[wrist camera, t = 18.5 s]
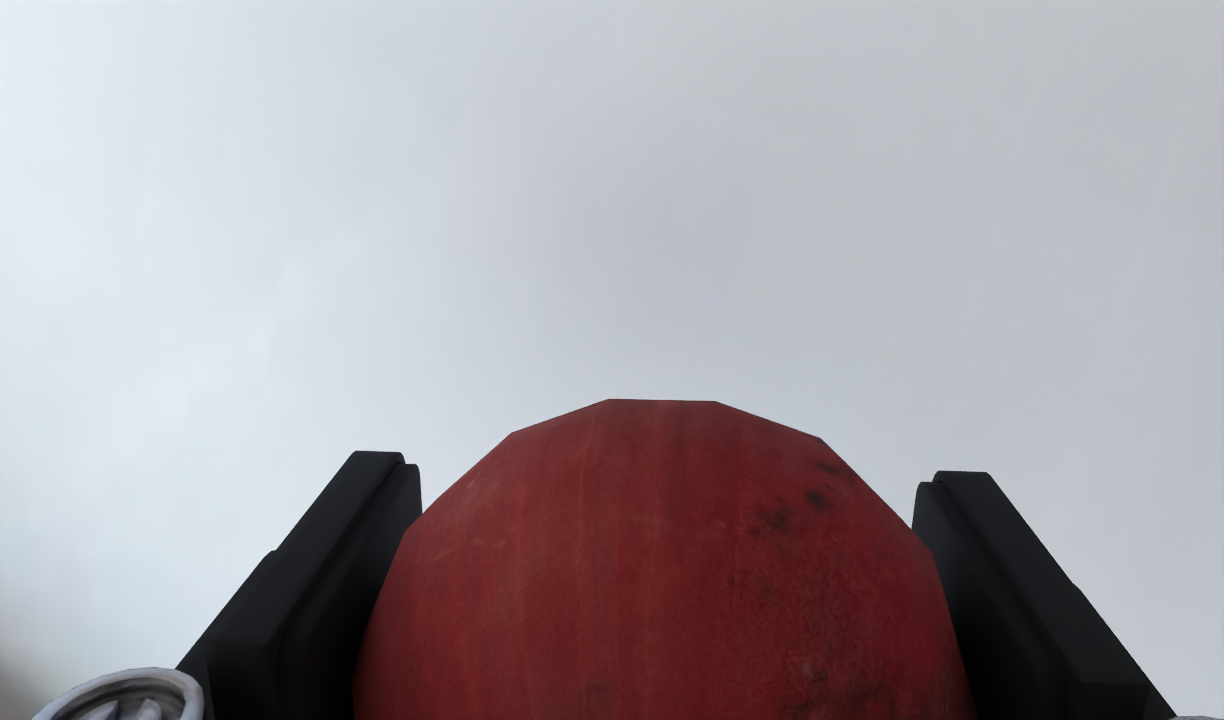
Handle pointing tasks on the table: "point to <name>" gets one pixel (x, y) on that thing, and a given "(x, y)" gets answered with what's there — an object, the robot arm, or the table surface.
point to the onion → (661, 583)
